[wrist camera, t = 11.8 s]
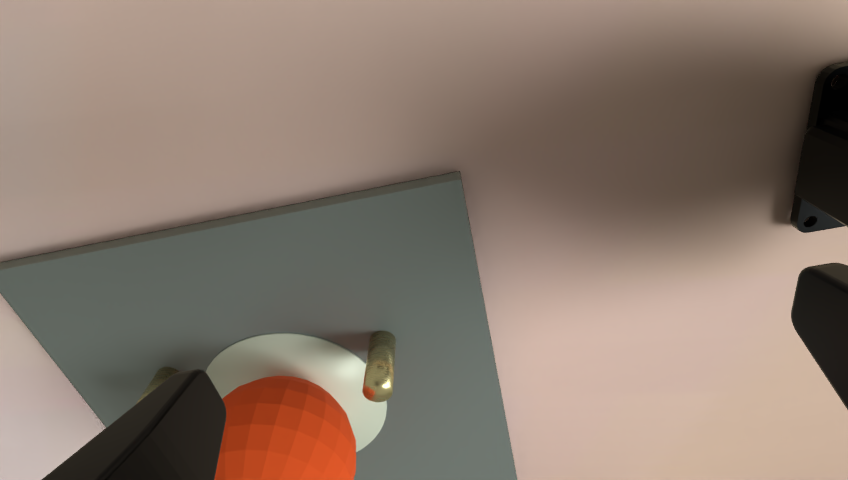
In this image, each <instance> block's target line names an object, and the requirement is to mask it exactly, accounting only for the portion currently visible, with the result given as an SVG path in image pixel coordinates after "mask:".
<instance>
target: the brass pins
mask: <svg viewBox="0 0 848 480" xmlns="http://www.w3.org/2000/svg"><path fill="white" fill-rule="evenodd" d="M395 350H396V338H395V336H394V335H393V334H392V333H390V332H388V331H377V332H375V333H373V334H372V335H371V337H370V340H369V347H368V354H367V361H366V368H365V376H364V383H363V390H362V392H363V395H364V397H365V398H366V399H368V400H370V401H373V402H384V401H386V400H388V399H389V398H390V397H391V396H392V393H393V378H394V364H395ZM177 372H179V371H178V370H176V369H174V368H171V367H162V368H160V369H159V370H158V371H157V373H156V374H155V376H154V377H153V379H152V380H151V382H150V383H149V385H148V386H147V388H146V389H145V391H144V393H143V394H142V396H141V397H140V399H139V400H138V402H139V401H141V400H142V399H143V398H144V397H145V396H147V395H148V394H149V393H150V392H152V391H153V390H154V389H155V388H157V387H158V386H159V385H160V384H162V383H163V382H164V381H165V380H167V379H168V378H169V377H170V376H172V375H173V374H175V373H177ZM138 402H137V403H138ZM137 403H136V404H137Z"/></svg>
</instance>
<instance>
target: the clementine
mask: <svg viewBox="0 0 848 480" xmlns="http://www.w3.org/2000/svg"><path fill="white" fill-rule="evenodd" d="M222 400H223V401H224V404H225V407H226V422H225V427H224V433H223V438H222V443H221V448H220V453H219V458H218V464H217V469H216V474H215V479H214V480H354V476H355V472H356V439H355V436H354V434H353V431H352V428H351V425H350V422H349V419H348V417H347V414H346V412H345V411H344V410H343V408H342V407H341V406H340V404H339V403H338V402H337V401H336V400H335V399H334V398H333V396H332V395H331V394H330V393H328V392H327V391H326V390H324V389H323V388H322V387H320V386H319V385H317V384H314V383H312V382H310V381H308V380H305V379H301V378H297V377H293V376H272V377H264V378H261V379H258V380H255V381H252V382H250V383H247V384H244V385H241V386H239V387H237V388H236V389H234V390H233V391H232V392H230V393H229V394H227V395H226V396H225V397H224V398H222Z"/></svg>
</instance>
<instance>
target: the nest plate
mask: <svg viewBox="0 0 848 480" xmlns="http://www.w3.org/2000/svg"><path fill="white" fill-rule="evenodd" d="M0 293H1V294H2V296H3V297H4V298H5V300H6V301H7V302H8V303H9V305H10V306H11V307H12V308H13V310H14V311H15V312H16V313H17V315H18V316H19V317H20V319H21V320H22V321H23V322H24V324H25V325H26V326H27V327H28V329H29V330H30V331H31V333H32V334H33V335H34V336H35V338H36V339H37V340H38V341H39V343H40V344H41V345H42V347H43V348H44V349H45V350H46V352H47V353H48V354H49V355H50V357H51V358H52V359H53V360H54V362H55V363H56V364H57V366H58V367H59V368H60V369H61V371H62V372H63V373H64V374H65V376H66V377H67V378H68V380H69V381H70V382H71V383H72V385H73V386H74V387H75V388H76V390H77V391H78V392H79V394H80V395H81V396H82V397H83V399H84V400H85V401H86V402H87V404H88V405H89V406H90V407H91V409H92V410H93V411H94V413H95V414H96V415H97V416H98V418H99V419H100V420H101V421H102V423H103V424H104V425H105V427H106V428H107V427H108V426H109V425H111V424H112V423H113V422H114V421H116V420H117V419H118V418H119V417H121V416H122V415H123V414H124V413H126V412H127V411H128V410H129V409H131V408H132V407H133V406H134V405H136V403H137V402H138V400H139V399H140V397H141V396H142V394H143V393H144V391H145V389H146V388H147V386H148V385H149V383H150V382H151V380H152V379H153V377H154V376H155V374H156V373H157V371H158V370H159V369H160V368H162V367H171V368H174V369H176V370H178V371H179V372H181V371H187V370H193V369H202V370H203V371H205V372H206V373H207V374H208V376H209V378H210V379H211V381H212V383H213V384H214V386H215V388H216V389H217V391H218V393H219V395H220V396H221V398H224V397H225V396H226V395H227V394H229V393H230V392H232V391H233V390H234V389H236V388H237V387H239V386H241V385H244V384H247V383H250V382H252V381H255V380H258V379H261V378H264V377H272V376H293V377H297V378H301V379H305V380H308V381H310V382H312V383H314V384H317V385H319V386H320V387H322V388H323V389H324V390H326V391H327V392H328V393H330V394H331V395H332V396H333V398H334V399H335V400H336V401H337V402H338V403H339V404H340V406H341V407H342V408H343V410H344V411H345V412H346V414H347V417H348V419H349V422H350V425H351V428H352V431H353V434H354V436H355V439H356V472H355V476H354V480H517V476H516V470H515V465H514V460H513V454H512V449H511V444H510V438H509V433H508V428H507V422H506V417H505V412H504V406H503V401H502V395H501V390H500V385H499V379H498V374H497V369H496V363H495V358H494V353H493V347H492V342H491V337H490V331H489V326H488V321H487V315H486V310H485V305H484V299H483V294H482V288H481V283H480V278H479V272H478V267H477V262H476V256H475V251H474V246H473V240H472V235H471V230H470V224H469V219H468V214H467V208H466V203H465V197H464V192H463V187H462V181H461V176H460V171H459V172H454V173H449V174H444V175H439V176H434V177H429V178H424V179H419V180H414V181H409V182H404V183H399V184H394V185H389V186H384V187H379V188H374V189H368V190H363V191H358V192H353V193H348V194H343V195H338V196H333V197H328V198H323V199H318V200H313V201H308V202H303V203H298V204H293V205H288V206H283V207H278V208H273V209H268V210H263V211H258V212H253V213H248V214H243V215H238V216H233V217H228V218H223V219H218V220H213V221H207V222H202V223H197V224H192V225H187V226H182V227H177V228H172V229H167V230H162V231H157V232H152V233H147V234H142V235H137V236H132V237H127V238H122V239H117V240H112V241H107V242H102V243H97V244H92V245H87V246H82V247H77V248H72V249H67V250H62V251H57V252H51V253H46V254H41V255H36V256H31V257H26V258H21V259H16V260H11V261H6V262H1V263H0ZM377 331H388V332H390V333H392V334H393V335H394V336H395V338H396V350H395V364H394V378H393V393H392V396H391V397H390V398H389V399H388V400H386V401H384V402H373V401H370V400H368V399H366V398H365V397H364V395H363V392H362V390H363V383H364V376H365V368H366V361H367V354H368V347H369V340H370V337H371V335H372V334H373V333H375V332H377Z"/></svg>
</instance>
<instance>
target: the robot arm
mask: <svg viewBox="0 0 848 480" xmlns="http://www.w3.org/2000/svg"><path fill="white" fill-rule="evenodd" d="M837 75H838V80H837V82H836V83H835V84H834V85H832V86H831V82H832V80H833V79H834V78H835V77H836V76H837ZM808 217H810V218H809V219H808V220H807V221H806V222H804V221H805V219H807V218H808ZM791 224H792V226H793V227H795V228H796V229H798V230H799V231H801V232H803V233H806V232H814V231H820V230H825V229H831V228H837V227H843V226H847V227H848V62H844V63H839V64H834V65H831V66H829V67H827V68H825V69H824V70H823V71H821V73H820V74H819V75H818V77H817V79H816V82H815V87H814V92H813V98H812V103H811V109H810V114H809V120H808V126H807V131H806V134H805V137H804V142H803V148H802V153H801V159H800V165H799V170H798V176H797V181H796V187H795V198H794V203H793V209H792V214H791ZM791 318H792V323H793V326H794V328H795V330H796V332H797V333H798V335H799V336H800V338H801V339H802V341H803V342H804V344H805V345H806V347H807V349H808V350H809V352H810V353H811V355H812V356H813V358H814V359H815V361H816V362H817V364H818V365H819V367H820V368H821V370H822V371H823V373H824V374H825V376H826V377H827V379H828V380H829V382H830V384H831V385H832V387H833V388H834V390H835V391H836V393H837V394H838V396H839V397H840V399H841V400H842V402H843V403H844V405H845V406H846V408H847V409H848V265H844V264H840V263H829V264H823V265H817V266H811V267H807V268H805V269H803V270H802V271H801V273H800V274H799V277H798V281H797V286H796V291H795V296H794V301H793V306H792V311H791ZM225 422H226V407H225V404H224V401H223V400H222V398H221V396H220V395H219V393H218V391H217V389H216V388H215V386H214V384H213V383H212V381H211V379H210V378H209V376H208V374H207V373H206V372H205V371H203V370H202V369H193V370H187V371H181V372H177V373H175V374H173V375H172V376H170V377H169V378H168V379H167V380H165V381H164V382H163V383H162V384H160V385H159V386H158V387H157V388H155V389H154V390H153V391H152V392H150V393H149V394H148V395H147V396H145V397H144V398H143V399H142V400H141V401H139V402H138V403H137V404H136V405H134V406H133V407H132V408H131V409H129V410H128V411H127V412H126V413H124V414H123V415H122V416H121V417H119V418H118V419H117V420H116V421H114V422H113V423H112V424H111V425H109V426H108V427H107V428H106V429H104V430H103V431H102V432H101V433H99V434H98V435H97V436H96V437H94V438H93V439H92V440H91V441H89V442H88V443H87V444H86V445H84V446H83V447H82V448H81V449H79V450H78V451H77V452H76V453H74V454H73V455H72V456H71V457H69V458H68V459H67V460H66V461H64V462H63V463H62V464H61V465H59V466H58V467H57V468H56V469H54V470H53V471H52V472H51V473H49V474H48V475H47V476H46V477H44V478H43V479H42V480H214V479H215V474H216V469H217V464H218V458H219V453H220V448H221V443H222V438H223V433H224V427H225Z"/></svg>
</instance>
